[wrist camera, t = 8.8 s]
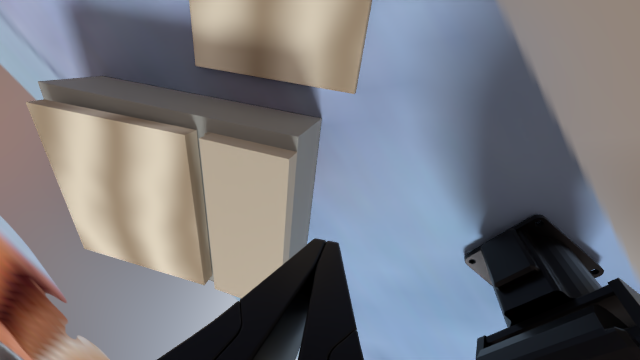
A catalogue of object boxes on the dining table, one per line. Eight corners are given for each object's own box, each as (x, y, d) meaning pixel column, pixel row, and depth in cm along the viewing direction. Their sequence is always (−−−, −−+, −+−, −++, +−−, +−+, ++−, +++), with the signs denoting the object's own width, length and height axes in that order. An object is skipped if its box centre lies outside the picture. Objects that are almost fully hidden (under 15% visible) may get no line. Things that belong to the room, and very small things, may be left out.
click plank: (196, 130, 18) (184, 135, 17) (212, 275, 25) (204, 285, 24) (44, 99, 20) (25, 102, 19) (96, 240, 27) (84, 248, 26)
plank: (377, -26, 16) (375, -31, 15) (357, 91, 20) (354, 93, 19) (197, -41, 19) (184, -46, 18) (205, 65, 22) (195, 65, 21)
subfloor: (321, 118, 21) (290, 143, 15) (304, 266, 28) (278, 319, 23) (102, 76, 25) (16, 83, 20) (137, 213, 33) (82, 247, 27)
